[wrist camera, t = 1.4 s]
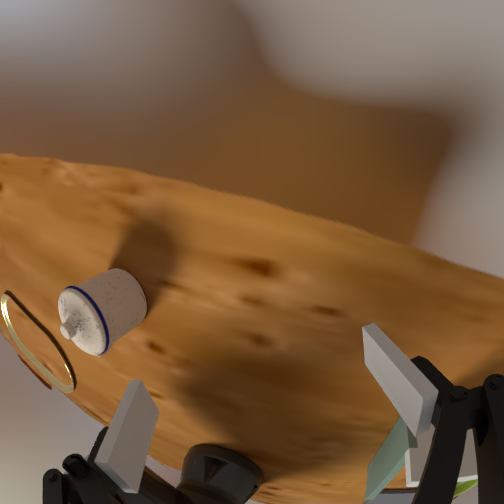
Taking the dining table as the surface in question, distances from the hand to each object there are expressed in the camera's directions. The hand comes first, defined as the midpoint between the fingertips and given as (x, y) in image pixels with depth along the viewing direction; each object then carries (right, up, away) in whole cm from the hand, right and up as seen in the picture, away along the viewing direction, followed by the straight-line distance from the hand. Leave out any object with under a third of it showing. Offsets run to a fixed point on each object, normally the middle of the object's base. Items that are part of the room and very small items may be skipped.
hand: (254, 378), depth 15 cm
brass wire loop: (-56, -16, +40) cm, 70 cm away
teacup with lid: (-18, -1, +23) cm, 29 cm away
